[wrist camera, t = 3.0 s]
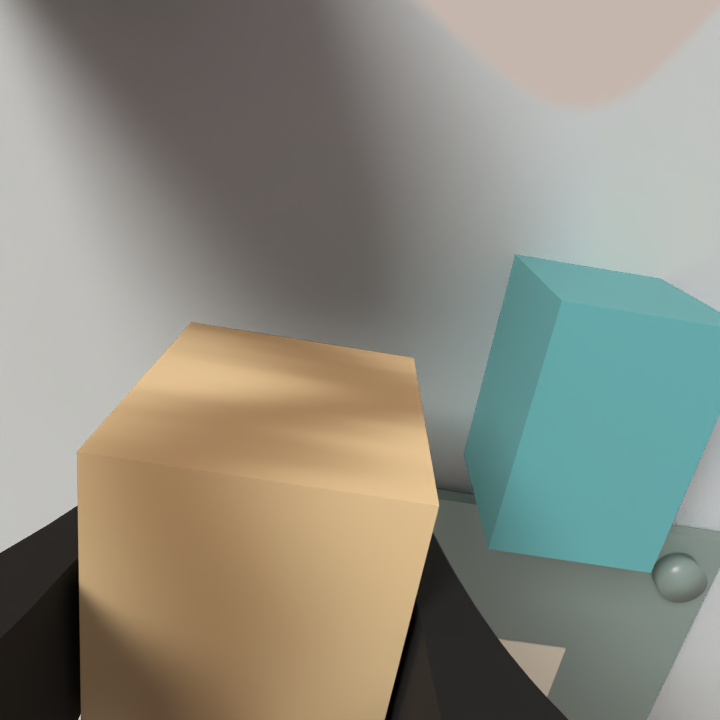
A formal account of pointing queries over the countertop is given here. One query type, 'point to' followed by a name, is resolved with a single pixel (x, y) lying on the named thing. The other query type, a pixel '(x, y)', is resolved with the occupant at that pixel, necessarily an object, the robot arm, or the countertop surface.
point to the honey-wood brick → (253, 532)
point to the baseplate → (583, 612)
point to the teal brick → (592, 413)
